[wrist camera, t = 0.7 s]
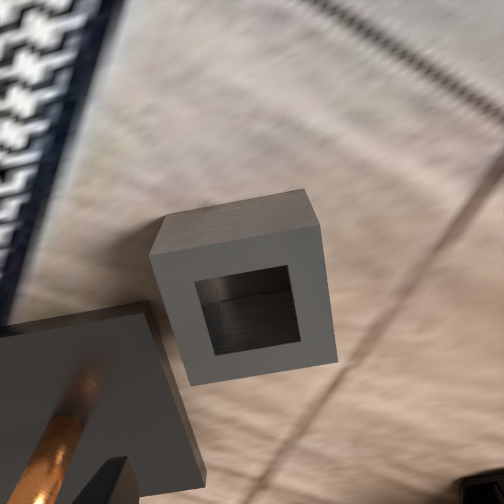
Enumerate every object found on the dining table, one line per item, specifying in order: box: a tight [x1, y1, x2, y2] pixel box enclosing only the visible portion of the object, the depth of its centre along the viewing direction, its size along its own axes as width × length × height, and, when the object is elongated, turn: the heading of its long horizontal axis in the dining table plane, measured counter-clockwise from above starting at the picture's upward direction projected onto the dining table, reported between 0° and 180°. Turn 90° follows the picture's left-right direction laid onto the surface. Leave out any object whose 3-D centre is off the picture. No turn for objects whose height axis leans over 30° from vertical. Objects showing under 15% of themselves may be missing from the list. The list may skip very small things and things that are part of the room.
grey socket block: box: [0, 301, 207, 504], centre depth 21 cm, size 12×12×6 cm
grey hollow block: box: [148, 189, 338, 386], centre depth 18 cm, size 6×6×4 cm
